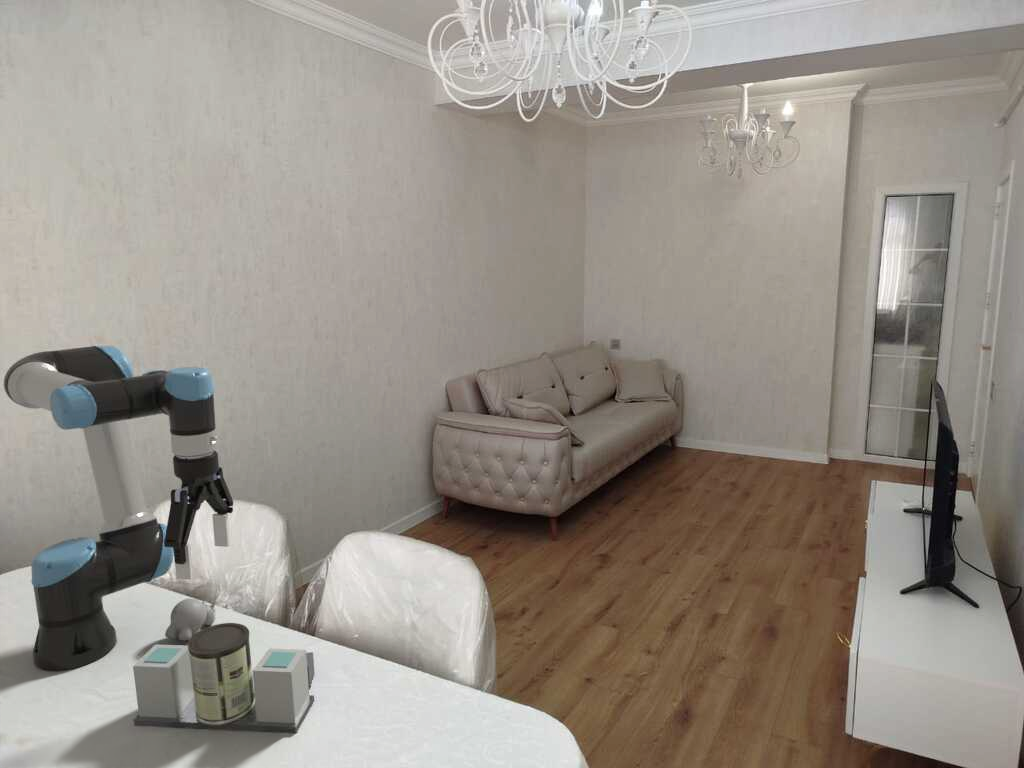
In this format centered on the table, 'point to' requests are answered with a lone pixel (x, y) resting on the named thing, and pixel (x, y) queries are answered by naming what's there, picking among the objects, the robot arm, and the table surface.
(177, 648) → the mounted module
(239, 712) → the coffee can
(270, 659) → the block
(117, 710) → the table surface
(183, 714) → the rail plate
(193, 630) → the chubby cartoon animal
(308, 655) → the charcoal block
